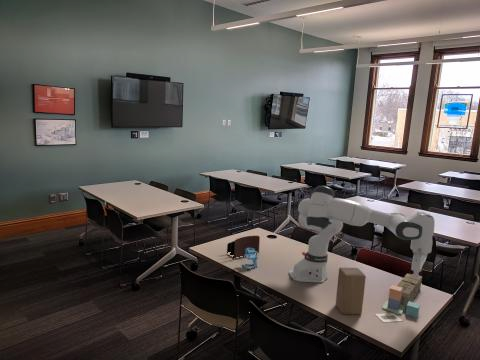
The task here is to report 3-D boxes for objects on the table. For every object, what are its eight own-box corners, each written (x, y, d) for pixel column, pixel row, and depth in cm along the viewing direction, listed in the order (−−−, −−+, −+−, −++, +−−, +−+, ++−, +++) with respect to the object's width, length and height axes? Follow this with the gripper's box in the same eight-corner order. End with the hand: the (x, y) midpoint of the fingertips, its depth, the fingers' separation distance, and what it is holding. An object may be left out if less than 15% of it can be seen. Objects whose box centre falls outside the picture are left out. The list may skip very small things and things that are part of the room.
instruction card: (383, 322, 166) (383, 321, 166) (374, 314, 173) (374, 313, 173) (402, 321, 168) (402, 320, 168) (393, 313, 175) (393, 312, 175)
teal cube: (416, 318, 172) (418, 308, 171) (405, 314, 174) (406, 305, 174) (418, 313, 176) (419, 304, 175) (407, 310, 178) (408, 301, 178)
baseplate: (401, 315, 173) (403, 303, 173) (382, 308, 178) (383, 298, 178) (405, 307, 181) (406, 296, 180) (386, 302, 186) (387, 291, 185)
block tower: (405, 286, 208) (391, 303, 185) (407, 272, 207) (393, 287, 184) (420, 290, 203) (407, 308, 180) (422, 276, 202) (409, 292, 179)
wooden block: (334, 304, 181) (338, 266, 177) (354, 304, 181) (358, 267, 178) (342, 315, 171) (346, 275, 168) (362, 315, 172) (366, 275, 168)
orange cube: (399, 300, 175) (400, 291, 174) (388, 297, 178) (389, 288, 177) (401, 297, 179) (402, 287, 179) (390, 294, 182) (392, 284, 181)
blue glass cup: (259, 268, 220) (260, 250, 218) (246, 270, 217) (247, 251, 215) (254, 264, 227) (255, 245, 226) (242, 265, 224) (243, 246, 223)
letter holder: (259, 254, 244) (260, 234, 242) (234, 259, 233) (235, 238, 231) (250, 250, 252) (251, 230, 250) (226, 254, 241) (227, 234, 239)
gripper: (425, 254, 159) (421, 283, 161) (431, 242, 176) (427, 269, 178) (409, 250, 163) (406, 279, 165) (417, 239, 179) (413, 266, 182)
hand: (417, 274), depth 172 cm, fingers open, 8 cm apart
